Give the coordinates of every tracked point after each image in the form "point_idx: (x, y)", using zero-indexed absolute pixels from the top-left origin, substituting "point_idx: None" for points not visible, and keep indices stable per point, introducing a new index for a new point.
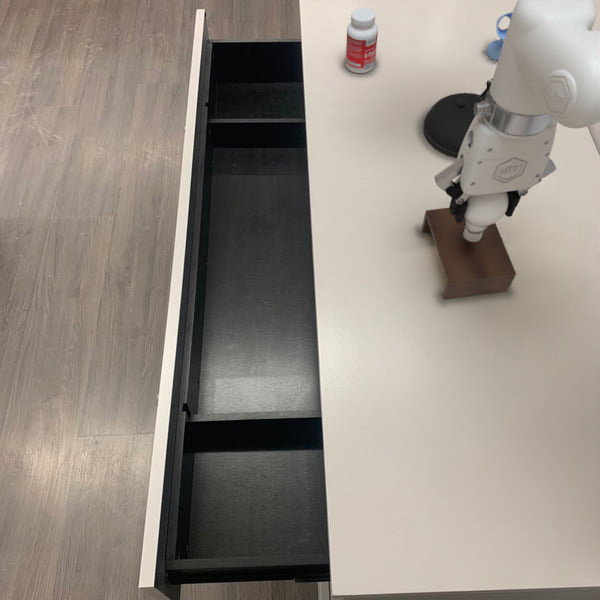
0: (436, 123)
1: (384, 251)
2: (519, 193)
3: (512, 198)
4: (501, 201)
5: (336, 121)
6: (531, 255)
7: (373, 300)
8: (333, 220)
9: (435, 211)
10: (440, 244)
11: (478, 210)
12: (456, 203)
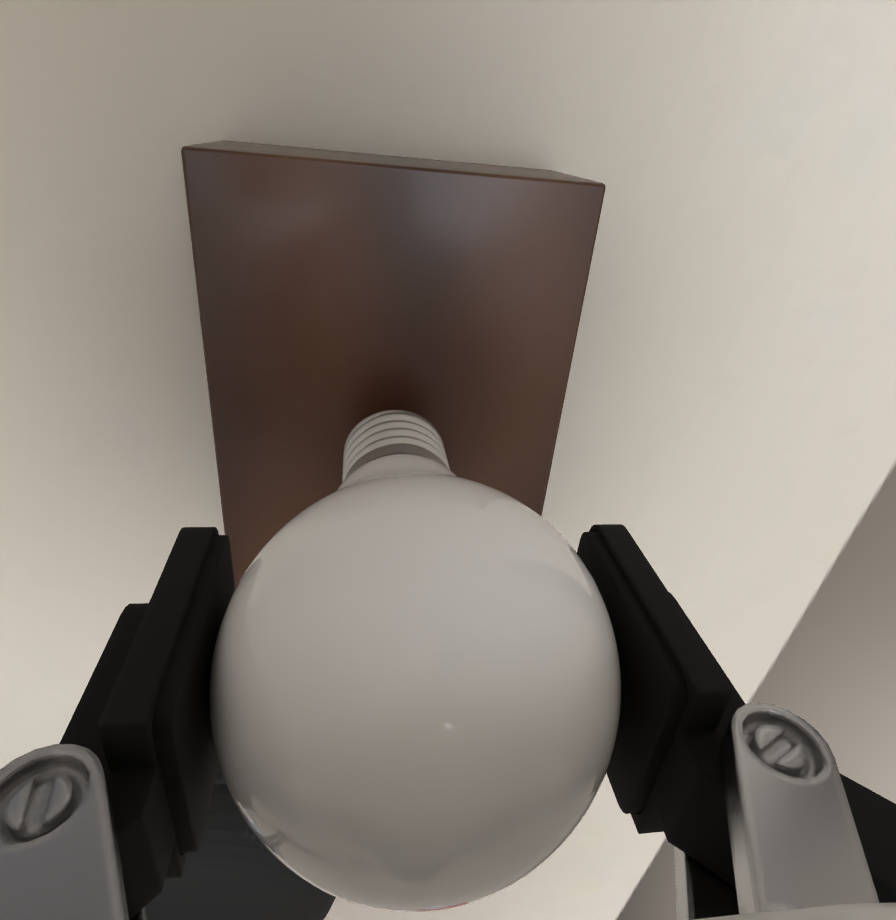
0: (321, 892)
1: (668, 460)
2: (94, 794)
3: (180, 714)
4: (341, 705)
5: (581, 871)
6: (45, 333)
7: (828, 243)
8: (761, 597)
9: None
10: (540, 436)
11: (577, 619)
12: (736, 701)
